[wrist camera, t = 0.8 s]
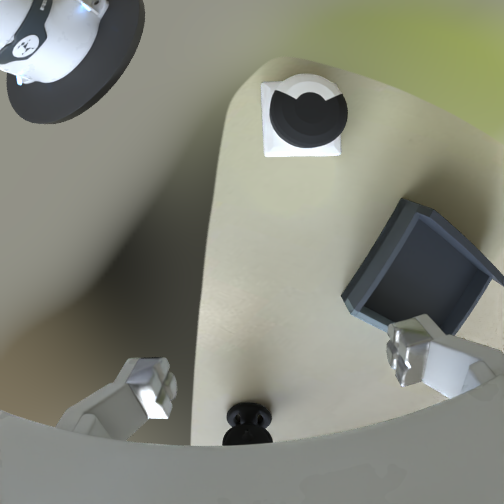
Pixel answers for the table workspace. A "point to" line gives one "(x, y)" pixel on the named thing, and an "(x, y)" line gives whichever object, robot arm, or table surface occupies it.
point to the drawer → (419, 272)
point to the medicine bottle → (302, 116)
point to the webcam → (247, 425)
